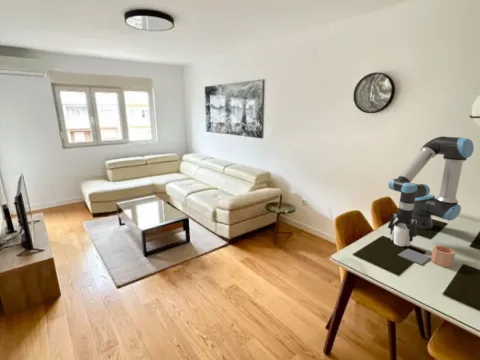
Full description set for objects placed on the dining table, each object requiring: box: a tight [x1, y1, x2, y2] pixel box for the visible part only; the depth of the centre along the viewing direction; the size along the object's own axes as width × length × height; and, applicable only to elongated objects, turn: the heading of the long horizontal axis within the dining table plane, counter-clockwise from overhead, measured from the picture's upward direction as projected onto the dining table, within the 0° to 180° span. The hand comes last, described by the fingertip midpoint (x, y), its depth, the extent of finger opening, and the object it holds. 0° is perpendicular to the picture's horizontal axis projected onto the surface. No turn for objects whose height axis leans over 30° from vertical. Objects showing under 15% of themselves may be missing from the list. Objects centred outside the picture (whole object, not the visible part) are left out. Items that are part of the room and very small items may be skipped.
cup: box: [393, 222, 409, 247], centre depth 161 cm, size 9×9×12 cm
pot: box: [430, 244, 456, 268], centre depth 142 cm, size 9×9×8 cm
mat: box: [397, 248, 431, 266], centre depth 148 cm, size 12×12×1 cm
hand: (400, 242), depth 162 cm, fingers closed on cup, 9 cm apart
